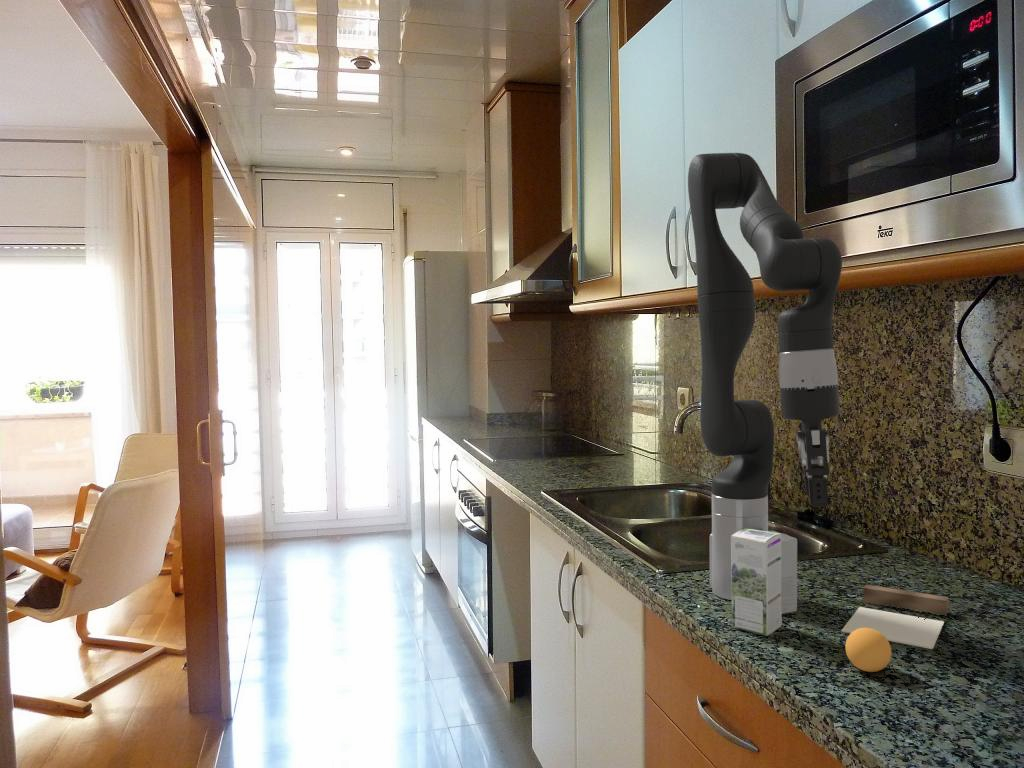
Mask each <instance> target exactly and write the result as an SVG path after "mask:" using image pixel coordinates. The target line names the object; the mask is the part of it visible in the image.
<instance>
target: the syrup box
mask: <svg viewBox="0 0 1024 768" xmlns="http://www.w3.org/2000/svg"><path fill="white" fill-rule="evenodd" d="M779 533H780V532H779ZM779 533H773V532H766V531H760V530H753V529H743V530H740V531H738V532H736V533H735V534H733V535H731V536H732V537H731V570H732V572H731V575H732V600H731V628H733V629H737V630H741V631H746V632H747V633H748V632H749V633H751V634H752V633H753V634H757V635H761V636H765V637H767V636H769V635H771V634H773V633H774V632H775V631H776V630H778V629H780V627H782V625H783V620H782V619H783V618H782V615H783V614H782V613H781V534H779Z"/></svg>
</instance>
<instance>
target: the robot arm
mask: <svg viewBox="0 0 1024 768" xmlns="http://www.w3.org/2000/svg"><path fill="white" fill-rule="evenodd" d="M687 191H688V201H689V208H690V215H691V216H690V217H691V223H692V231H693V237H694V239H693V240H694V247H695V259H696V260H695V262H696V282H697V284H696V285H697V286H696V287H697V290H696V292H697V308H698V311H697V313H698V323H699V333H700V347H701V348H700V352H701V389H700V391H701V392H700V413H699V415H700V416H699V417H700V418H699V421H700V431H701V436H702V441H703V444H704V447H705V448H706V450H707V451H708V452H709V453H710V454H712V455H713V456H716V457H730V456H731V457H733V458H732V461H731V463H730V464H729V465H728V466H727V467H726V468H725V469H723V470H722V471H720V472H718V473H717V474H715V475H714V476H713V477H712V480H711V533H710V534H709V538H708V539H709V588H711V589H712V590H711V591H712V593H713V595H715V596H717V597H719V598H721V599H725V600H729V601H730V600H731V601H732V575H731V572H732V570H731V537H732V536H731V535H733V534H735V533H736V532H738V531H740V530H743V529H753V530H760V531H769V511H768V510H769V495H768V493H769V485H770V482H771V481H772V477H773V465H774V447H775V446H774V445H775V427H774V426H775V425H774V421H773V415H772V413H771V411H770V409H769V407H768V406H767V405H766V404H765V403H764V402H762V401H760V400H758V399H757V400H756V399H743V400H735V391H734V390H735V388H734V386H735V373H736V368H737V365H738V362H739V359H740V358H741V356H742V353H743V351H744V350H745V347H746V345H747V343H748V342H749V340H750V337H751V334H752V332H753V330H754V326H755V322H756V320H755V319H756V311H755V310H756V309H755V293H754V292H755V291H754V284H753V281H752V278H751V276H750V274H749V273H748V270H747V269H746V267H745V266H744V265H743V263H742V262H741V261H740V258H738V256H737V255H736V253H734V251H733V250H732V248H731V247H730V246H729V244H728V242H727V241H726V239H725V237H724V236H723V233H722V231H721V227H720V225H719V224H720V223H719V221H718V220H719V219H718V217H717V216H718V215H717V211H716V210H722V209H723V210H725V209H726V210H727V209H728V210H729V209H737V208H743V209H742V211H741V214H740V218H739V227H740V228H739V229H740V231H741V234H742V237H743V238H744V240H745V241H746V243H747V244H748V245H749V246H750V248H751V249H752V250H753V252H754V253H755V254H756V258H757V260H758V265H759V272H760V273H759V274H760V277H761V278H760V279H761V281H762V282H763V284H764V285H765V286H766V287H768V288H769V289H771V290H773V291H775V292H776V291H777V292H792V291H806V290H807V291H808V292H807V293H808V294H807V296H806V297H807V298H806V299H805V301H804V303H803V304H802V305H800V306H796V307H793V308H788V309H786V310H783V311H781V312H780V314H778V317H777V324H776V325H777V340H778V350H779V351H778V352H779V353H778V354H779V355H778V356H779V357H778V358H779V359H778V360H779V361H778V381H779V383H778V384H779V394H780V395H779V397H780V411H781V417H782V418H783V419H784V420H788V421H791V420H792V421H799V420H800V422H799V423H798V426H797V427H798V429H799V430H797V431H795V436H796V439H795V440H796V444H797V446H798V458H799V459H800V461H801V467H802V469H803V476H804V477H803V478H804V488H805V489H804V490H805V494H806V496H808V497H809V504H810V506H811V507H813V508H825V507H827V506H828V504H829V499H828V485H827V484H828V483H827V478H828V476H829V473H830V468H829V462H830V451H829V442H830V436H829V432H828V431H827V430H826V429H825V428H823V426H822V425H823V424H822V421H823V420H825V419H833V418H837V417H839V415H840V414H841V409H840V407H841V406H840V392H839V381H838V368H837V367H838V366H837V361H836V357H835V350H834V337H833V335H834V334H833V333H834V332H833V322H832V321H833V314H834V307H835V303H836V302H835V301H836V297H837V292H838V287H839V282H840V278H841V275H842V269H843V259H842V253H841V251H840V248H839V247H838V245H837V244H836V243H835V242H834V241H833V240H832V239H830V238H827V237H809V238H804V231H803V229H802V228H801V225H800V224H799V223H798V222H797V220H796V219H794V218H793V217H792V216H791V215H790V213H788V211H787V210H786V209H785V208H784V207H783V206H782V205H781V204H780V203H779V202H778V200H777V198H776V197H775V195H774V193H773V191H772V189H771V186H770V185H769V183H768V180H767V179H766V177H765V174H764V173H763V171H762V170H761V168H760V166H759V164H758V163H757V161H756V160H755V159H754V158H753V157H752V156H751V155H749V154H747V153H742V152H717V153H715V152H714V153H712V152H711V153H700V154H697V155H695V156H693V158H692V159H691V161H690V163H689V167H688V172H687Z"/></svg>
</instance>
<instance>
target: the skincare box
mask: <svg viewBox="0 0 1024 768" xmlns="http://www.w3.org/2000/svg"><path fill="white" fill-rule="evenodd" d="M766 532H773V533H779V534H781V613H782V615H785V614H790V613H794V612H795V613H796V612H797V611H798V539H797V537H793V536H790V535H788V534H787V533H781V532H778V531H775V530H768V531H766Z"/></svg>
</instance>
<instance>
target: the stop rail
mask: <svg viewBox="0 0 1024 768" xmlns="http://www.w3.org/2000/svg"><path fill="white" fill-rule="evenodd" d="M862 603H864V604H868V603H870V604H869V605H874V604H877V605H876V606H880V605H885V606H884V607H886V605H887V606H893V607H899V608H906V609H912V610H918V611H924V612H930V613H935V614H940V615H946V617H947V616H948V614H947V613H949V597H948V596H942V595H937V594H932V593H931V594H929V593H923V592H916V591H912V590H911V591H909V590H904V589H899V588H898V589H897V588H892V587H891V588H890V587H884V586H878V585H872V584H865V585H864V586H863V589H862Z"/></svg>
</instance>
